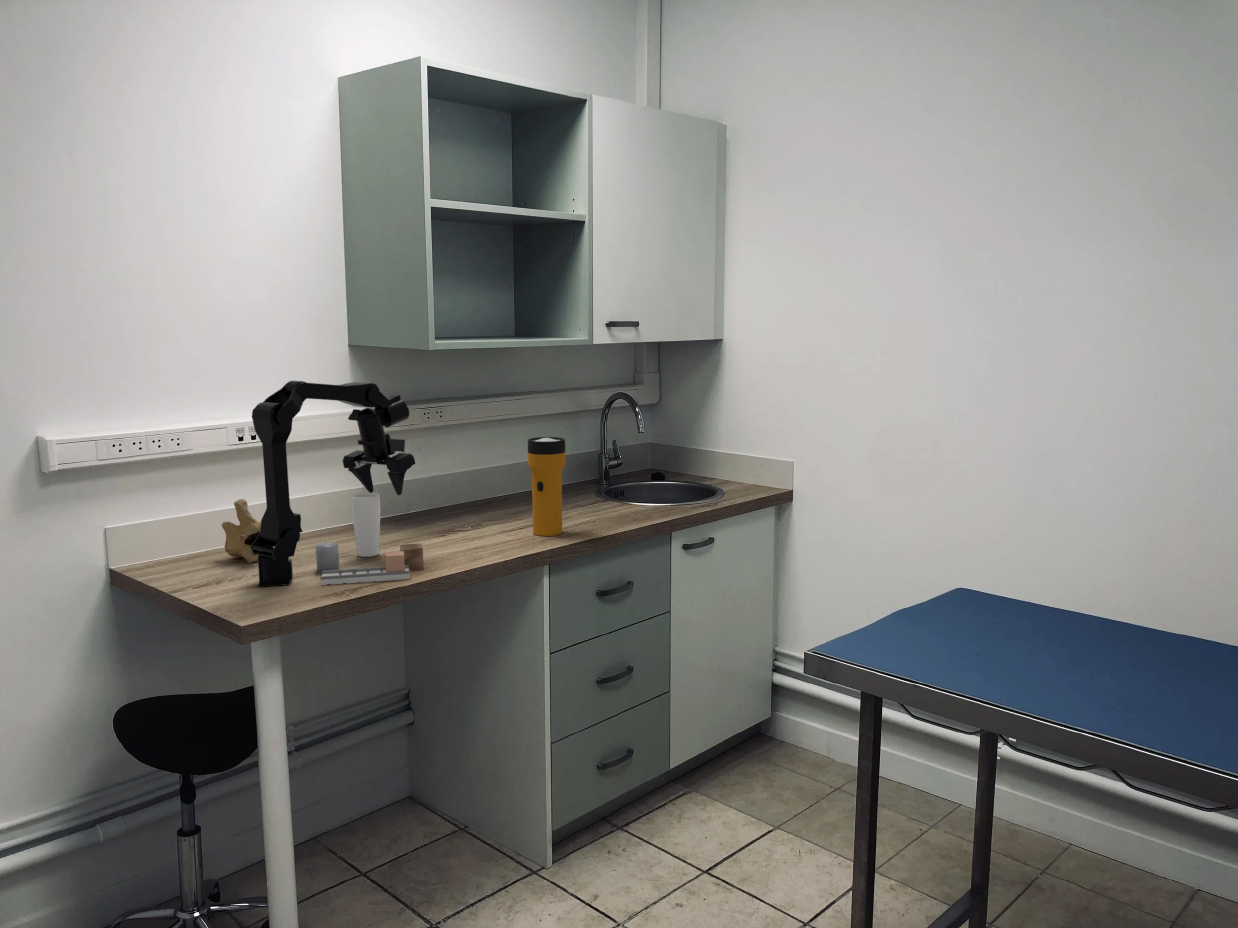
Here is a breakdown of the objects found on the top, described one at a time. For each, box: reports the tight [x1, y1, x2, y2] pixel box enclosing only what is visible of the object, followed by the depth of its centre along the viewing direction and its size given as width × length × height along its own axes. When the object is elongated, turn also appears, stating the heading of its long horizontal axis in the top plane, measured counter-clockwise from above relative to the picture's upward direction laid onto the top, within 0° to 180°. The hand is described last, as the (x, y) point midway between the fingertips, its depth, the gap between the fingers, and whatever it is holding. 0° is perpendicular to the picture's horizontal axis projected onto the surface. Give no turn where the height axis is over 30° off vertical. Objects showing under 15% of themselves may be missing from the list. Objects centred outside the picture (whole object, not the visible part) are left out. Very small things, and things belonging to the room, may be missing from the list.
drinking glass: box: [351, 492, 381, 558], centre depth 238 cm, size 7×7×15 cm
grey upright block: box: [315, 542, 340, 574], centre depth 225 cm, size 5×5×6 cm
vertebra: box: [221, 498, 261, 564], centre depth 234 cm, size 9×14×15 cm, turn 47°
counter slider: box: [385, 550, 405, 572], centre depth 219 cm, size 4×4×4 cm
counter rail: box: [320, 565, 411, 586], centre depth 218 cm, size 19×6×2 cm, turn 104°
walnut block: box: [399, 543, 425, 571], centre depth 228 cm, size 5×5×5 cm
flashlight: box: [527, 436, 566, 537], centre depth 260 cm, size 10×26×10 cm
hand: (385, 493), depth 239 cm, fingers open, 9 cm apart
